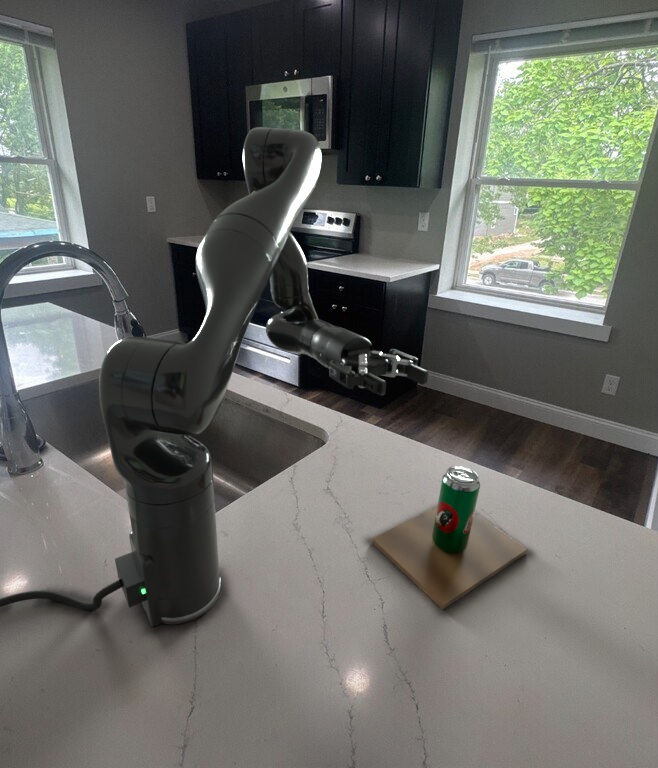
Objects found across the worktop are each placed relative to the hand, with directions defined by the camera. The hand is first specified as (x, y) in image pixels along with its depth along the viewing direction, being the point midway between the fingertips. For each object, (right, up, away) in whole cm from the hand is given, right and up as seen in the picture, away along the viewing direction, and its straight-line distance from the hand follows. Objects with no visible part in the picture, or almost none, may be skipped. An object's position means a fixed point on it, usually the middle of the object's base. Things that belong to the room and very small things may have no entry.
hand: (405, 383), depth 69 cm
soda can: (+6, -24, -1) cm, 24 cm away
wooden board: (+6, -24, -1) cm, 25 cm away
